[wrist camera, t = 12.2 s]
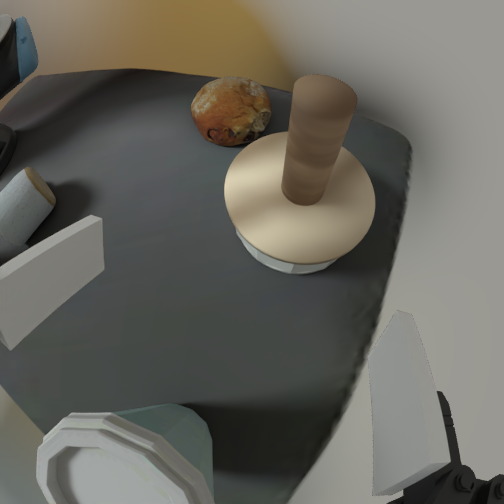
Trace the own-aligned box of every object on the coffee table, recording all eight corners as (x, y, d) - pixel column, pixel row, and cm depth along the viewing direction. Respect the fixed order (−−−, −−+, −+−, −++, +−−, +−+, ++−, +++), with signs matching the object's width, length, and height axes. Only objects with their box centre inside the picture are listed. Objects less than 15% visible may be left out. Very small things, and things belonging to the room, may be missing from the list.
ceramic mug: (66, 209, 29) (32, 178, 22) (29, 255, 27) (-10, 232, 20) (43, 173, 32) (16, 144, 25) (11, 212, 30) (-19, 188, 23)
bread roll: (263, 118, 38) (257, 67, 32) (284, 142, 31) (279, 77, 25) (196, 131, 37) (185, 80, 31) (200, 159, 30) (185, 94, 24)
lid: (197, 180, 24) (166, 82, 14) (305, 119, 26) (320, 30, 16) (291, 298, 20) (326, 247, 10) (397, 208, 23) (460, 131, 12)
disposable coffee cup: (199, 366, 24) (126, 387, 9) (257, 459, 20) (257, 561, 6) (111, 405, 22) (2, 432, 8) (164, 491, 19) (101, 571, 5)
